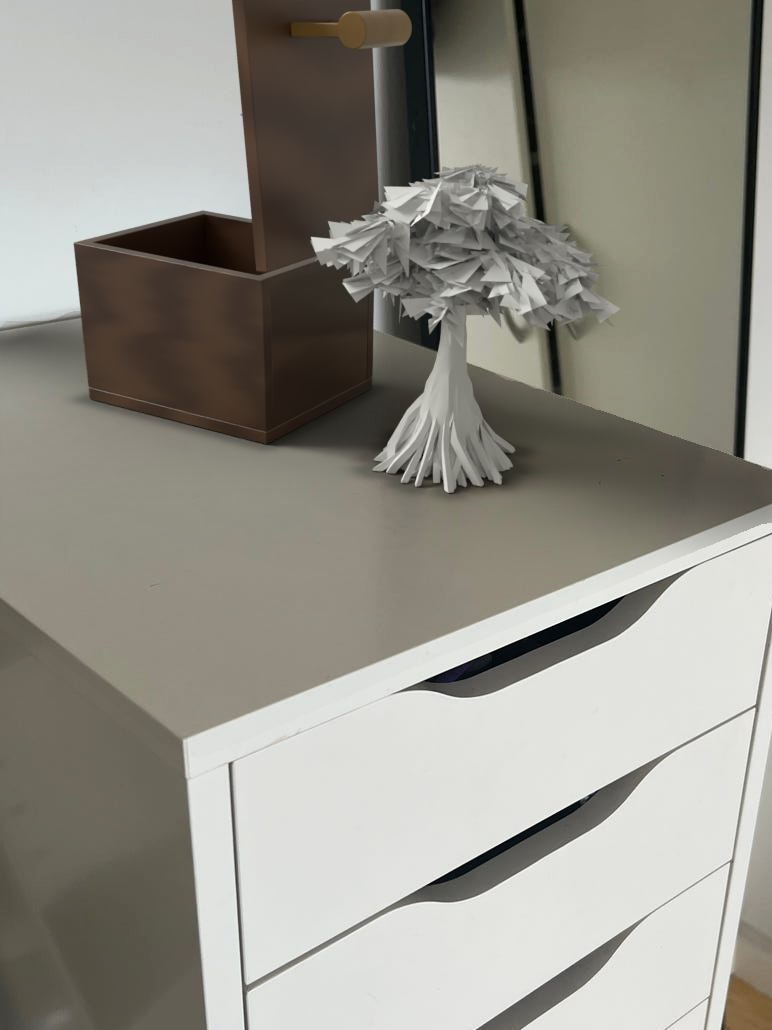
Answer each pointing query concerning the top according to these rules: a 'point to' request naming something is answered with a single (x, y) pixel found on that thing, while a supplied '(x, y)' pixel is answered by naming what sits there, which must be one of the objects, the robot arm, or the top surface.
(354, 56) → the lid
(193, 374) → the chest
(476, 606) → the top surface
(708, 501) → the top surface
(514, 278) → the tree
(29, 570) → the top surface
